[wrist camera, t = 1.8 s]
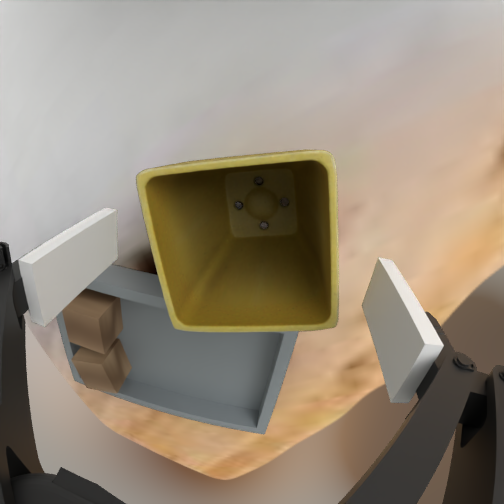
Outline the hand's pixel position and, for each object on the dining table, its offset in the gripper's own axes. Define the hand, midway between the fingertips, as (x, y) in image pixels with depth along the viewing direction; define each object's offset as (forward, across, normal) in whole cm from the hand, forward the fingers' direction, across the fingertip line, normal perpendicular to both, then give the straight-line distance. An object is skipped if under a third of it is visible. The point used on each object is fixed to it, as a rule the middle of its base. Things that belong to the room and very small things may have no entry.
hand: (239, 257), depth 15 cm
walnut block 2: (+8, -13, -17) cm, 23 cm away
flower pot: (+8, 0, +1) cm, 9 cm away
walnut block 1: (+8, -13, -11) cm, 19 cm away
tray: (+8, -6, -14) cm, 18 cm away
